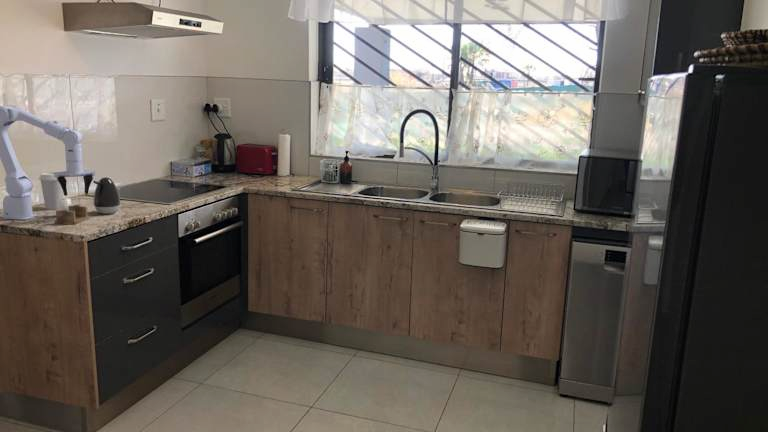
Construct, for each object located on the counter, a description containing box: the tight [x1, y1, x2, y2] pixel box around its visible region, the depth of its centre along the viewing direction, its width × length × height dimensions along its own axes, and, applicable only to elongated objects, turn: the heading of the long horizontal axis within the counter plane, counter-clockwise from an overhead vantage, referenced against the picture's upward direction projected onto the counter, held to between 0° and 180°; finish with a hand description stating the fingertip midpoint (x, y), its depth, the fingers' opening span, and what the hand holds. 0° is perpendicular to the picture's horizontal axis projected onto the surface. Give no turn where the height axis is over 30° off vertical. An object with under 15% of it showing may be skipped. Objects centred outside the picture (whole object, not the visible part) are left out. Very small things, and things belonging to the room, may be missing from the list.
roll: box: [57, 197, 73, 211], centre depth 245 cm, size 5×5×7 cm
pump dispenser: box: [92, 176, 121, 215], centre depth 252 cm, size 10×10×15 cm
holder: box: [54, 204, 90, 226], centre depth 237 cm, size 8×11×6 cm
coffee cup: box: [38, 171, 64, 211], centre depth 257 cm, size 10×10×15 cm
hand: (76, 194), depth 240 cm, fingers open, 7 cm apart
